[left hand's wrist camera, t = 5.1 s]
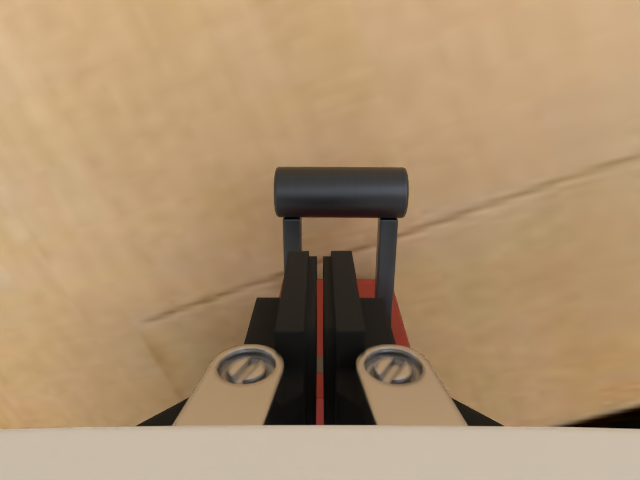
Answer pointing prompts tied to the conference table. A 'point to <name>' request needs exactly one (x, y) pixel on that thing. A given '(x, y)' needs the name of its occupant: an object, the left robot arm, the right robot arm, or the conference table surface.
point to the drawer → (346, 202)
